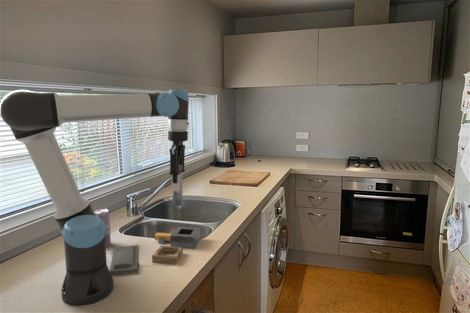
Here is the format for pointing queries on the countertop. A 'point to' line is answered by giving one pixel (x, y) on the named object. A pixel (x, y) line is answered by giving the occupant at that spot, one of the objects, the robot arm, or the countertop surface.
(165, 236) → the block
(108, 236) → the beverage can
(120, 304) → the countertop surface
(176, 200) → the gray rectangular bar
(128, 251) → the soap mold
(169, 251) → the square wooden tray
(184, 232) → the socket block
